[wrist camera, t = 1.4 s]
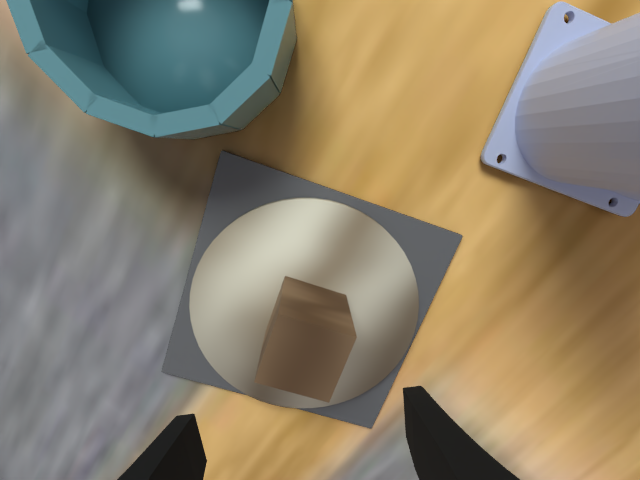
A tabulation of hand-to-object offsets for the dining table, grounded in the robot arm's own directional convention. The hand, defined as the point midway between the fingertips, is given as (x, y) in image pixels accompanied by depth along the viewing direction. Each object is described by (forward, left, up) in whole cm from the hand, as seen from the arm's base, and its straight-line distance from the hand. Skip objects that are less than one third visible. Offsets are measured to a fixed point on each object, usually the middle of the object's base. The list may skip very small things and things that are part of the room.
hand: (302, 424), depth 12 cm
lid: (0, 0, -9) cm, 9 cm away
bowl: (+10, -12, -9) cm, 18 cm away
